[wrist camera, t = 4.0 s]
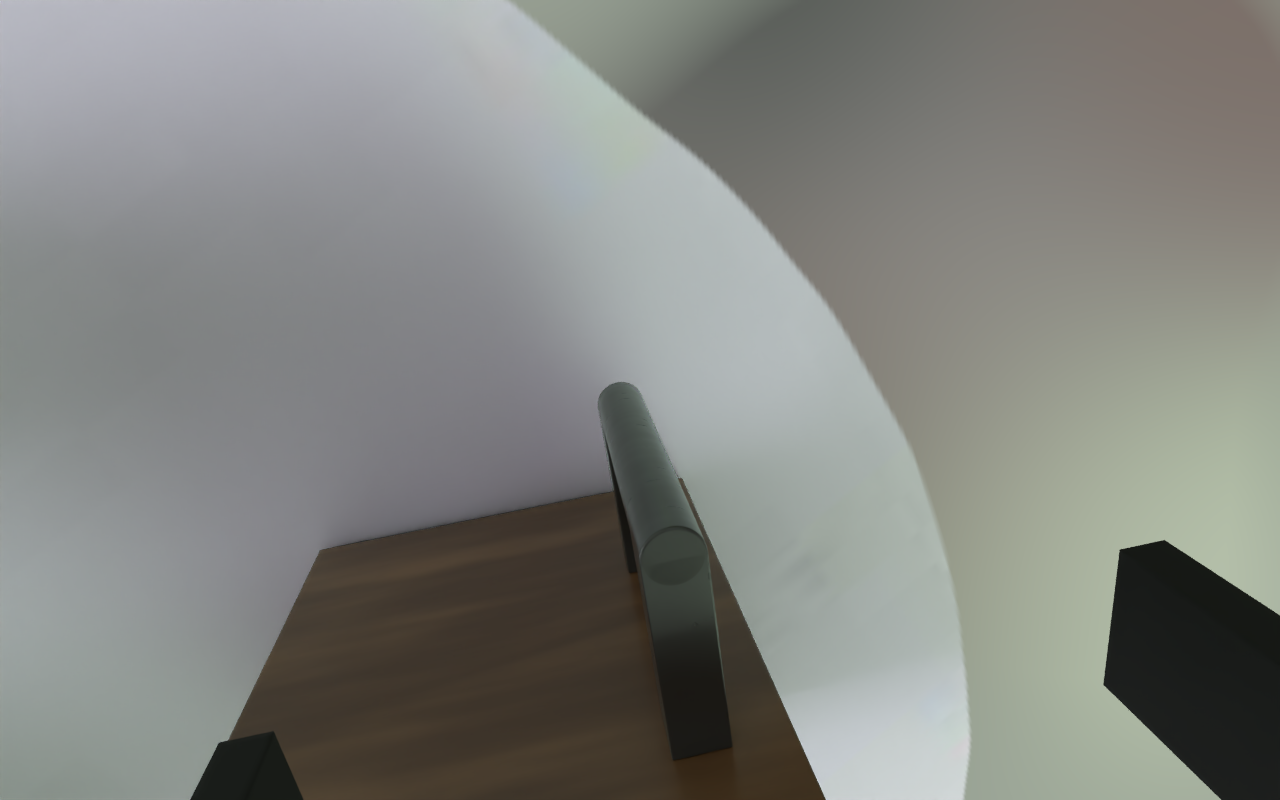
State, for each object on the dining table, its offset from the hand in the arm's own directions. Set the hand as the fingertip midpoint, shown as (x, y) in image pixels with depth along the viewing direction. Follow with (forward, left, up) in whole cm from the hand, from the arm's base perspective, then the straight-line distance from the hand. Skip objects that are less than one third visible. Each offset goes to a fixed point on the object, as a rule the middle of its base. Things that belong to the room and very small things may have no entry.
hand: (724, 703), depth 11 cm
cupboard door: (0, -7, -20) cm, 21 cm away
